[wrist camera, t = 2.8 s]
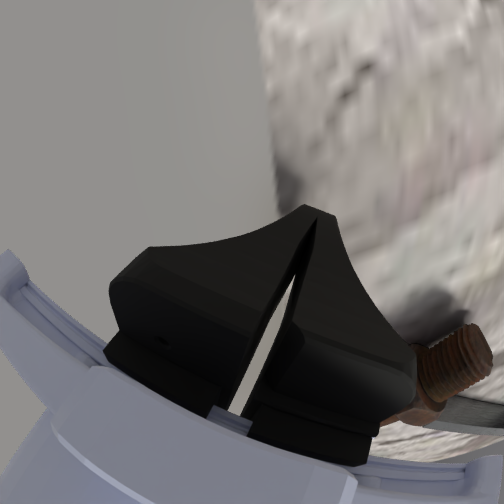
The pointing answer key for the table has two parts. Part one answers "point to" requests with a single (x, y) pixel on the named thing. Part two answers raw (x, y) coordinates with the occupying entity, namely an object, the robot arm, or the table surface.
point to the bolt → (445, 374)
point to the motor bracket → (470, 417)
